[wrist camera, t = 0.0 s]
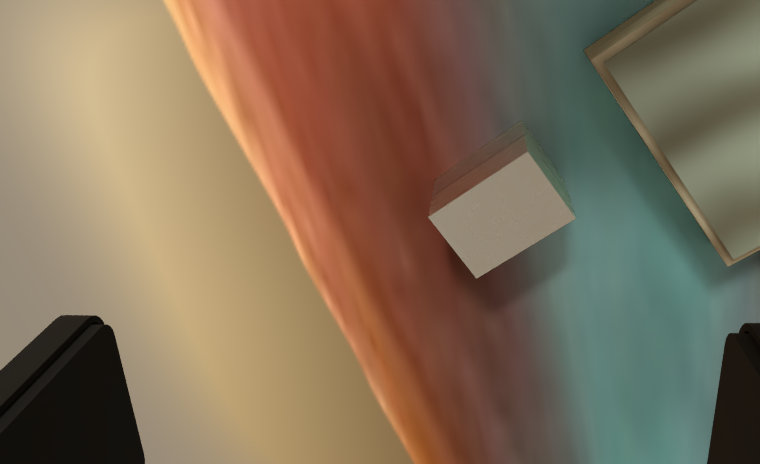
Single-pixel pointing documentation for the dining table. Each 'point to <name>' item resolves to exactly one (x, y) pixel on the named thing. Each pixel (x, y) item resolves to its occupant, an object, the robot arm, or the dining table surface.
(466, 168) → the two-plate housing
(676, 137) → the wooden stand
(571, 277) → the dining table surface
